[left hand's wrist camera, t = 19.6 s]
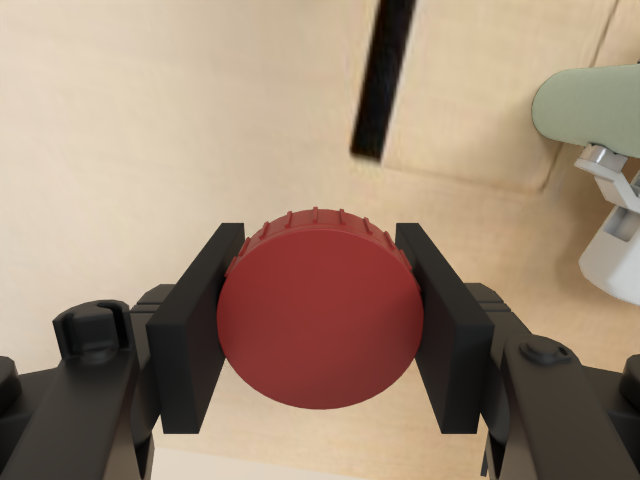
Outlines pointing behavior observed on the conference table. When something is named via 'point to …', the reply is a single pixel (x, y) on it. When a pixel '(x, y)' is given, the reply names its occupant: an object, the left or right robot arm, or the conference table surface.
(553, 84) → the green bottle
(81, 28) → the conference table surface
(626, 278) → the right robot arm
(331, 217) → the lid
